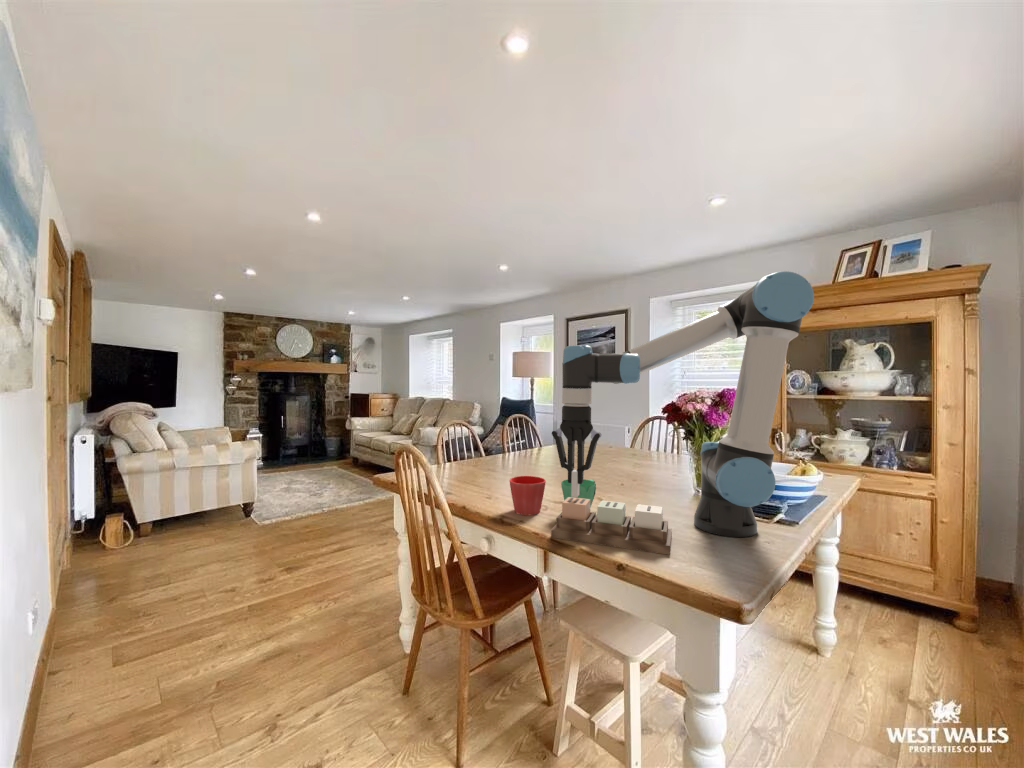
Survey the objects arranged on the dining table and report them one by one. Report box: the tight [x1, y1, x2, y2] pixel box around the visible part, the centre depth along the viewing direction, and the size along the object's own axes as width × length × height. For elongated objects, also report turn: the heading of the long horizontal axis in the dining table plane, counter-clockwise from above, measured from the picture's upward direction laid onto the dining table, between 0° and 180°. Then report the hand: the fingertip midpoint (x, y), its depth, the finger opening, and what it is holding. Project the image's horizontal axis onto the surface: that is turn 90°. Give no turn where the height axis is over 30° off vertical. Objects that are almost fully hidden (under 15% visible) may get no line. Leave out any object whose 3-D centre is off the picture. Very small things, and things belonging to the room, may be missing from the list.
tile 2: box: [596, 500, 626, 525], centre depth 106 cm, size 6×6×4 cm
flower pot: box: [509, 475, 547, 516], centre depth 127 cm, size 11×11×10 cm
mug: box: [560, 478, 597, 509], centre depth 124 cm, size 15×10×10 cm
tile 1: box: [634, 503, 664, 530], centre depth 103 cm, size 6×6×4 cm
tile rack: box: [550, 511, 673, 556], centre depth 106 cm, size 28×12×4 cm, turn 68°
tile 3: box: [561, 497, 591, 521], centre depth 109 cm, size 6×6×4 cm
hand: (575, 495), depth 109 cm, fingers closed
